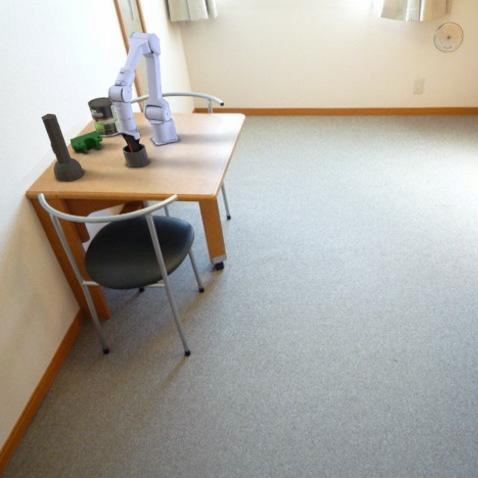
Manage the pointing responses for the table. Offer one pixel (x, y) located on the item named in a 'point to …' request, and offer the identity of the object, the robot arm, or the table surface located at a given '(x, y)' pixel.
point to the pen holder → (135, 156)
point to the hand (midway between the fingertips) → (134, 149)
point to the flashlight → (61, 151)
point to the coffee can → (104, 116)
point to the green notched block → (86, 141)
